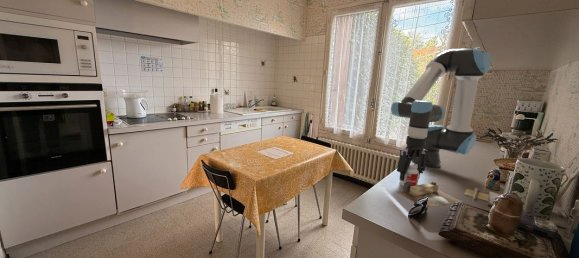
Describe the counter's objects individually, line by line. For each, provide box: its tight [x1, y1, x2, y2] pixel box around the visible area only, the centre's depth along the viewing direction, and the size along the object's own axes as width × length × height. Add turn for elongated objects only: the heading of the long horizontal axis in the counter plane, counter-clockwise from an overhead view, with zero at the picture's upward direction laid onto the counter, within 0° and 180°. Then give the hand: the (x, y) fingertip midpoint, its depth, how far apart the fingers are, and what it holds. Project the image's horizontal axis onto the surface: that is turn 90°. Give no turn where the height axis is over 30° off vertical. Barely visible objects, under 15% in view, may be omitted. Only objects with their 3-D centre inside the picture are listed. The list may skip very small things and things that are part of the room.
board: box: [396, 182, 463, 209], centre depth 95 cm, size 20×14×5 cm
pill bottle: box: [403, 162, 419, 186], centre depth 105 cm, size 6×6×11 cm
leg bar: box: [409, 181, 440, 196], centre depth 97 cm, size 14×4×4 cm, turn 114°
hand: (408, 186), depth 106 cm, fingers closed on pill bottle, 6 cm apart
